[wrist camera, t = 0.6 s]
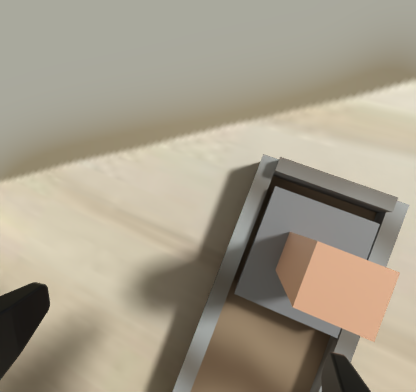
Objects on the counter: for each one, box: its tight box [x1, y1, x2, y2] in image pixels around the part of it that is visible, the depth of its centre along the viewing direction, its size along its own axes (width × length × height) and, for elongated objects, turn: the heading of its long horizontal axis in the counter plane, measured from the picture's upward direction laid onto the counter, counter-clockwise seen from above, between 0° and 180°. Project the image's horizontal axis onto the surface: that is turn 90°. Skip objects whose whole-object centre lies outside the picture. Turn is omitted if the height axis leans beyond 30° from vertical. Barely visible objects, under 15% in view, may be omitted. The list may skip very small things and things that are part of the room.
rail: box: [172, 154, 409, 392], centre depth 22 cm, size 21×10×4 cm, turn 159°
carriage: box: [234, 186, 400, 342], centre depth 17 cm, size 8×7×11 cm
